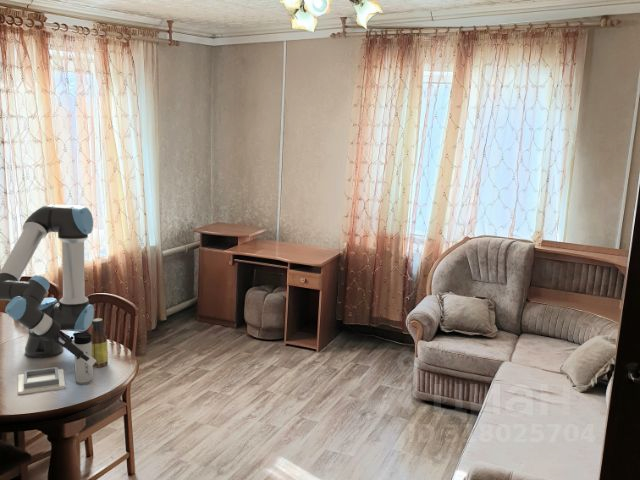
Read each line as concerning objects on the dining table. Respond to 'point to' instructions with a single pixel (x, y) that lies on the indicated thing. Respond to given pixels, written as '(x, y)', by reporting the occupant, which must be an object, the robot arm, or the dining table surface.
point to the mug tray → (40, 380)
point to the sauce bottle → (99, 344)
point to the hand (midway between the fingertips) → (88, 357)
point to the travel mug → (82, 368)
